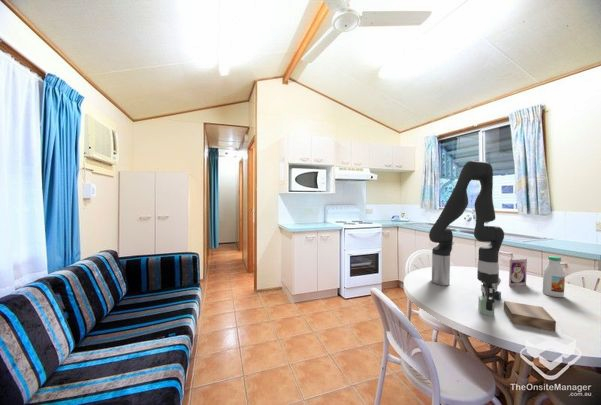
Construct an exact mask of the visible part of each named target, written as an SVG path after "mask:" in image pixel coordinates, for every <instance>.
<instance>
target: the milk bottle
mask: <svg viewBox="0 0 601 405" xmlns="http://www.w3.org/2000/svg"><path fill="white" fill-rule="evenodd" d="M547 260H548V263H547V264H546V266H545V267H544V270H543V275H542V277H543V278H542V293H543V294H545V295H546V296H550V297H553V298H564V296H565V282H566V281H565V270H564V269H563V267H562V265H561V263H562V257H560V256H555V255H549V256H548V259H547Z"/></svg>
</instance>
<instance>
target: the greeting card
mask: <svg viewBox="0 0 601 405" xmlns="http://www.w3.org/2000/svg"><path fill="white" fill-rule="evenodd" d="M527 264H528V258H522V259H521V258H520V259H513V256H511V257H510V259H509V271H508V272H509V277H508V280H509V281H508V287H514V286H526V285H527V266H528V265H527Z"/></svg>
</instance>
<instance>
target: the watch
mask: <svg viewBox="0 0 601 405" xmlns="http://www.w3.org/2000/svg"><path fill="white" fill-rule="evenodd" d="M501 282H502V279H501V278H500V277H499V282H498V283H496V284H492V285H493V287H494V290H495V301H500V300H501V297H502V291H499V290H498V286H500V284H501ZM490 298H491V297H490Z"/></svg>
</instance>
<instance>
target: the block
mask: <svg viewBox="0 0 601 405" xmlns="http://www.w3.org/2000/svg"><path fill="white" fill-rule="evenodd" d="M489 299H491V298H490V297H489ZM477 303H478V305H477V306H478V311H479V313H480V314H483V315H489V316H495V310H496V309H495V306H496V304H495V303H496V301H495V302H494V303H493V310H492V311H489V310H486V297H484V296H482V295H478V302H477Z"/></svg>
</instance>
